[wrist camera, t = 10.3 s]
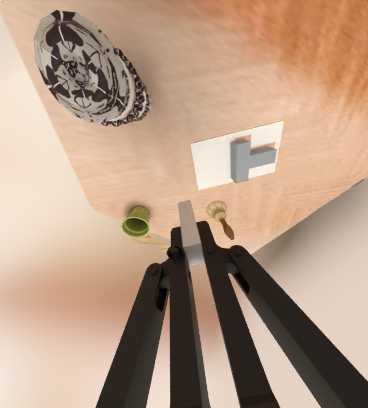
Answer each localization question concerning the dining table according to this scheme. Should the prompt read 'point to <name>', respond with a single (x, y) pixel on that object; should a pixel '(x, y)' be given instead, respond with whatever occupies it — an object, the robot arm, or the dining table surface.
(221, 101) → the dining table surface
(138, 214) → the plant pot
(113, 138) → the dining table surface
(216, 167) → the board
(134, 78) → the decorative candle
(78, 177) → the dining table surface
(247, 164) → the T block
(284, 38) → the dining table surface
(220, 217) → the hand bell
